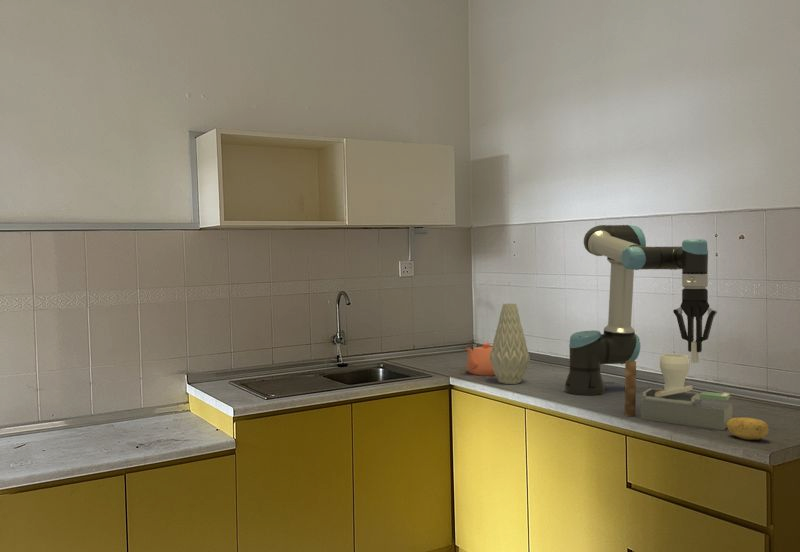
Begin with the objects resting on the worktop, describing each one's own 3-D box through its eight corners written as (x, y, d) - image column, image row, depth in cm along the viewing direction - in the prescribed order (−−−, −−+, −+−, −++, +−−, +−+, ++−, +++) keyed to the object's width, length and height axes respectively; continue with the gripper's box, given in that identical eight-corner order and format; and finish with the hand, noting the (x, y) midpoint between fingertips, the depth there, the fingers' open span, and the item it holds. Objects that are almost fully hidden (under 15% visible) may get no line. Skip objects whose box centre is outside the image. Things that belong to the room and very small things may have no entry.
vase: (509, 377, 308) (509, 301, 307) (537, 383, 294) (538, 304, 293) (480, 381, 298) (480, 303, 297) (508, 387, 284) (509, 305, 283)
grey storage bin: (640, 419, 231) (641, 393, 230) (652, 411, 241) (652, 387, 241) (723, 430, 216) (724, 402, 216) (732, 422, 227) (732, 395, 227)
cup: (654, 392, 275) (655, 353, 275) (680, 391, 276) (681, 353, 276) (667, 397, 265) (667, 357, 264) (694, 397, 265) (695, 357, 265)
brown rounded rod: (623, 415, 236) (624, 361, 235) (626, 413, 239) (627, 360, 238) (633, 416, 234) (634, 362, 233) (636, 415, 237) (637, 361, 236)
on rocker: (699, 397, 224) (699, 393, 224) (703, 395, 228) (703, 390, 228) (726, 400, 219) (726, 396, 219) (730, 398, 223) (730, 393, 223)
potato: (761, 444, 200) (762, 422, 200) (722, 437, 209) (722, 416, 208) (771, 440, 205) (772, 419, 204) (732, 433, 213) (733, 412, 213)
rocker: (655, 397, 232) (654, 393, 232) (659, 395, 236) (658, 391, 236) (689, 391, 226) (688, 386, 226) (692, 388, 229) (691, 384, 230)
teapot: (479, 379, 304) (479, 347, 304) (451, 373, 317) (451, 344, 316) (517, 372, 320) (517, 343, 320) (490, 368, 333) (490, 339, 332)
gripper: (670, 288, 226) (670, 362, 226) (713, 288, 218) (713, 365, 218) (677, 287, 232) (677, 359, 232) (719, 287, 224) (719, 362, 224)
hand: (694, 362), depth 225 cm, fingers closed
